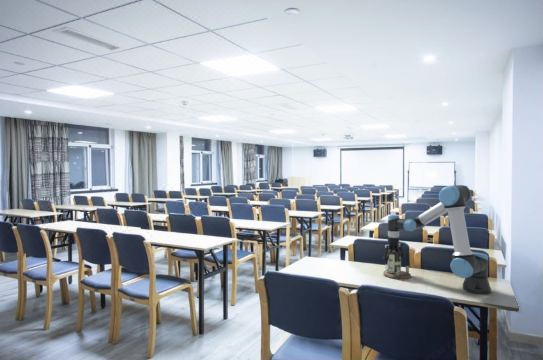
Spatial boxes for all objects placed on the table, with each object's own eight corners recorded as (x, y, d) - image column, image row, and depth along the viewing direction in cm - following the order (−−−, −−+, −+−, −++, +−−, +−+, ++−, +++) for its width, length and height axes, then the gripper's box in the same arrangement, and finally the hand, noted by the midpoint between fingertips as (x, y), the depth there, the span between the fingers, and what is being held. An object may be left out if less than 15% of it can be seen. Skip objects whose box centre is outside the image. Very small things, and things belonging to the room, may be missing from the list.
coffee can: (399, 269, 261) (399, 250, 260) (401, 273, 251) (402, 253, 250) (384, 269, 263) (384, 249, 262) (386, 272, 253) (386, 252, 252)
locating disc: (416, 277, 248) (416, 266, 248) (396, 280, 241) (396, 269, 241) (397, 270, 265) (397, 260, 265) (378, 273, 258) (378, 263, 257)
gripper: (402, 234, 264) (401, 265, 264) (376, 237, 255) (376, 268, 255) (409, 236, 257) (409, 267, 258) (384, 238, 248) (383, 271, 249)
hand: (393, 268), depth 257 cm, fingers closed on coffee can, 10 cm apart
